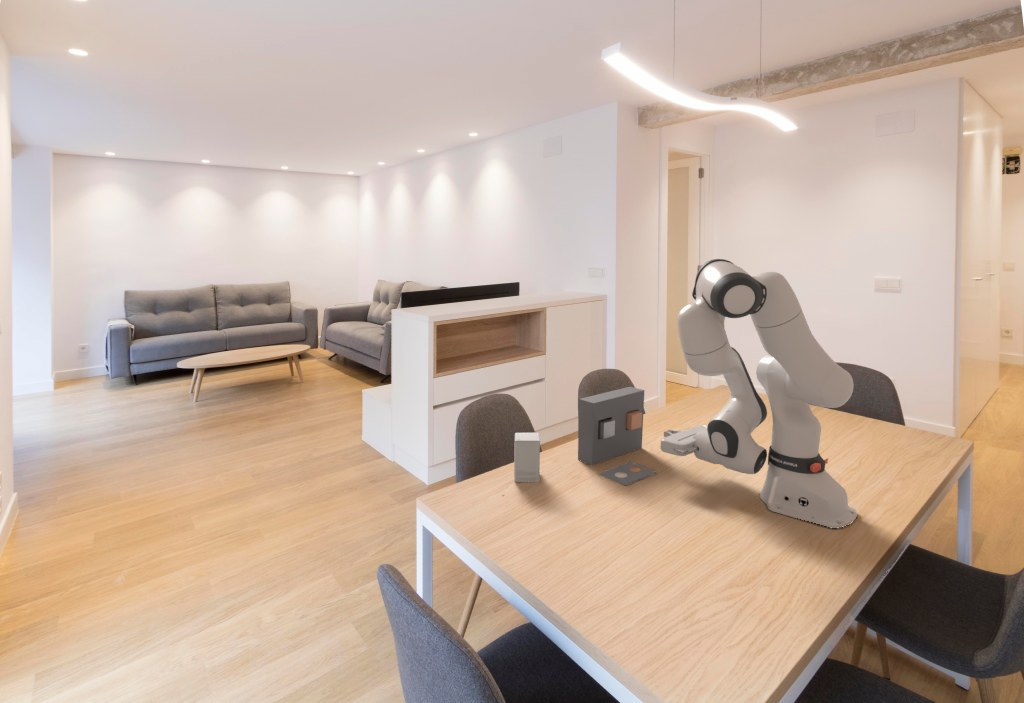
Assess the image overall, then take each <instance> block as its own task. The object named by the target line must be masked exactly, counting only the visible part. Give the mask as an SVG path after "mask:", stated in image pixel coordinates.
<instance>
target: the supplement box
mask: <svg viewBox="0 0 1024 703" xmlns="http://www.w3.org/2000/svg"><path fill="white" fill-rule="evenodd" d="M513 447H514V457H513V458H514V461H513V464H514V465H513V466H514V469H513V472H514V473H513V476H514V479H513V480H514V483H515V482H516V483H539V482H540V476H541V475H540V473H541V472H540V471H541V470H540V466H541V465H540V464H541V462H540V461H541V460H540V459H541V458H540V457H541V449H540V448H541V439H540V432H515V433H514V446H513ZM528 481H530V482H528Z"/></svg>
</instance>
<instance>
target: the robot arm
mask: <svg viewBox="0 0 1024 703" xmlns="http://www.w3.org/2000/svg"><path fill="white" fill-rule="evenodd" d="M794 291H795V290H793V288H792V286H791V285H790V283H789V281H788V280H787V278H786V277H785V276H784V275H783V274H781V273H779V272H776V271H765V272H762V273H760V274H757V275H754V276H752V275H751V274H749V273H748V272H747V271H746V270H744V269H743V268H742V267H740V266H738V265H737V264H734V263H733V262H732V261H730V260H728V259H724V258H723V259H722V258H715V259H711V260H708V261H706V262H705V263H704V264H702V265H701V266H700V267H699V269H698V270H697V273H696V276H695V280H694V285H693V289H692V292H691V293H692V294H691V296H692V297H693V299H694V301H693V302H690V303H688V304H686V305H684V306H683V307H682V308H681V309H680V310H679V312H678V314H677V316H676V317H677V319H676V320H677V330H678V331H677V332H678V337H679V342H680V346H681V349H682V353H683V356H684V359H685V362H686V363H687V365H688V367H689V368H690V370H691V371H692V372H694V373H695V374H697V375H700V376H705V377H718V376H723V378H724V379H725V382H726V384H727V386H728V388H729V391H730V396H729V399H728V401H727V403H725V405H724V406H723V407H722V408H721V409H720V410H719V411H718V412H717V413H716V414H715V415H714V416H713V418H712V419H711V420H709V422H708V424H707V425H705V424H698V425H697V424H696V425H694V426H692V427H689V428H687V429H684V430H676V429H671V428H670V429H668V430H664V431H663V437H662V438H661V440H660V450H661V451H662V452H663V453H666V454H670V455H673V456H677V457H686V456H687V455H691V454H692V453H694V454H693V455H694V456H695V457H696V459H698V460H702V461H704V462H706V463H711V464H713V465H721V466H723V467H724V468H726V469H727V470H731V471H735V472H738V473H742V474H747V475H755V474H757V473H759V472H760V471H761V469H762V468H763V467H764V465H765V463H766V461H767V466H768V467H767V472H766V477H765V480H764V483H763V486H762V488H761V491H760V492H759V498H760V500H761V501H763V503H765V504H766V507H767V509H768V510H769V511H770V512H774V513H777V514H780V515H784V516H787V517H791V518H794V519H797V518H798V519H797V520H800V519H801V520H802V521H804V520H805V521H804V522H807V521H809V522H808V523H811V522H813V523H812V524H814V523H816V524H815V525H817V524H820V525H819V526H821V525H824V526H827V527H826V528H828V527H832V528H837V527H842V526H845V525H848V524H850V523H851V522H852V521H854V520H855V519H856V517H857V518H858V512H857V510H856V508H854V507H852V506H850V505H849V500H848V493H847V491H846V489H845V488H844V487H843V486H842V484H840V483H839V482H838V481H837V480H836V479H835V478H833V476H832V475H830V473H829V472H828V471H826V470H825V469H826V464H828V463H829V458H825V459H824V458H823V457H822V456H821V454H820V453H819V451H820V450H819V449H820V443H821V434H822V426H821V423H820V420H819V419H818V418H817V417H816V416H815V413H813V410H812V408H811V407H810V405H811V406H814V407H820V408H831V409H832V408H833V409H837V408H839V407H842V406H844V405H845V404H846V403H847V402H848V401H849V400H850V399H851V397H852V395H853V392H854V380H853V376H852V374H850V372H849V371H848V370H846V369H845V368H843V367H842V366H840V365H839V364H838V363H837V362H835V361H834V360H833V358H832V357H831V356H829V354H828V353H827V352H826V350H825V349H824V348H823V346H821V344H820V343H819V342H818V340H817V339H816V338H815V336H814V334H813V333H812V331H811V329H810V327H809V325H808V322H807V319H806V317H805V316H806V315H804V312H803V309H802V306H801V304H800V302H799V299H798V297H797V295H796V293H795V292H794ZM749 315H750V317H751V321H752V324H753V326H754V328H755V331H756V333H757V335H758V337H759V341H760V343H761V344H762V347H763V349H764V351H765V352H766V353H767V354H765V355H764V356H763V357H762V358H761V359H760V360H759V361H758V363H757V366H756V370H755V372H756V373H755V374H756V379H757V380H758V383H760V385H761V386H762V388H763V389H764V391H765V394H766V396H767V398H768V403H769V406H770V410H771V416H772V429H771V431H772V432H771V442H770V443H771V444H770V446H769V448H768V450H767V449H766V448H765V447H763V446H761V445H759V444H758V443H757V442H756V440H754V438H753V436H752V433H753V432H754V431H755V430H756V428H757V427H759V426H760V425H761V424H762V423H763V422H765V420H766V418H767V416H768V409H767V406H766V404H765V402H764V400H763V399H762V398H761V396H760V395H759V393H758V391H757V390H756V388H755V386H754V383H753V381H752V379H751V376H750V373H749V371H748V369H747V366H746V364H745V361H744V359H742V356H741V354H740V353H739V352H738V351H737V349H736V348H734V347H732V346H731V344H730V341H729V338H728V335H727V332H726V329H725V320H726V318H729V319H739V318H744V317H747V316H749ZM801 520H800V521H801ZM856 520H857V519H856ZM856 520H855V521H856ZM855 521H854V522H855ZM850 525H851V524H850ZM824 526H823V527H824ZM832 528H831V529H832ZM837 529H838V528H837Z"/></svg>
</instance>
